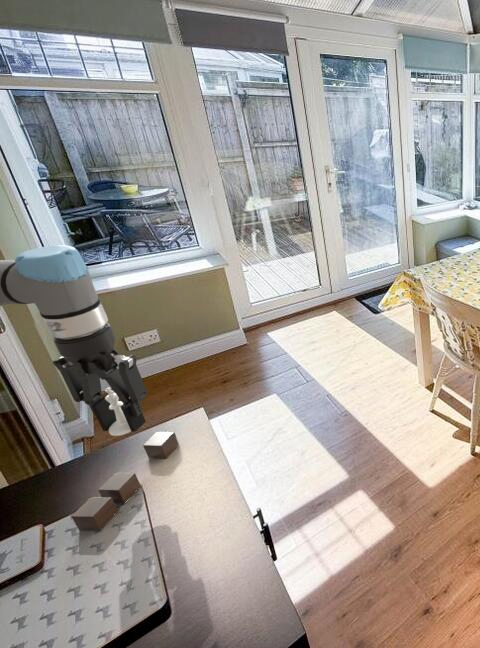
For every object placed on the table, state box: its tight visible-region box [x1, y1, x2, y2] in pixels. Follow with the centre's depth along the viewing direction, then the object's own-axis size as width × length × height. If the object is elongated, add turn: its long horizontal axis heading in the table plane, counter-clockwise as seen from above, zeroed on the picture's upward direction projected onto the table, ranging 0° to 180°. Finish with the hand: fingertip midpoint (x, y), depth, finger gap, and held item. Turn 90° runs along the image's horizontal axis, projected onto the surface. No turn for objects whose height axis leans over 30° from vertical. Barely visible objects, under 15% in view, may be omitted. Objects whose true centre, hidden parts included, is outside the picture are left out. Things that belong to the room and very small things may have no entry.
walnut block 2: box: [97, 472, 142, 505], centre depth 84 cm, size 4×4×4 cm
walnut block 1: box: [70, 496, 119, 532], centre depth 79 cm, size 4×4×4 cm
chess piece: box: [104, 386, 131, 437], centre depth 82 cm, size 5×5×10 cm
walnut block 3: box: [142, 431, 180, 460], centre depth 94 cm, size 4×4×4 cm
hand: (124, 426), depth 84 cm, fingers closed on chess piece, 5 cm apart
